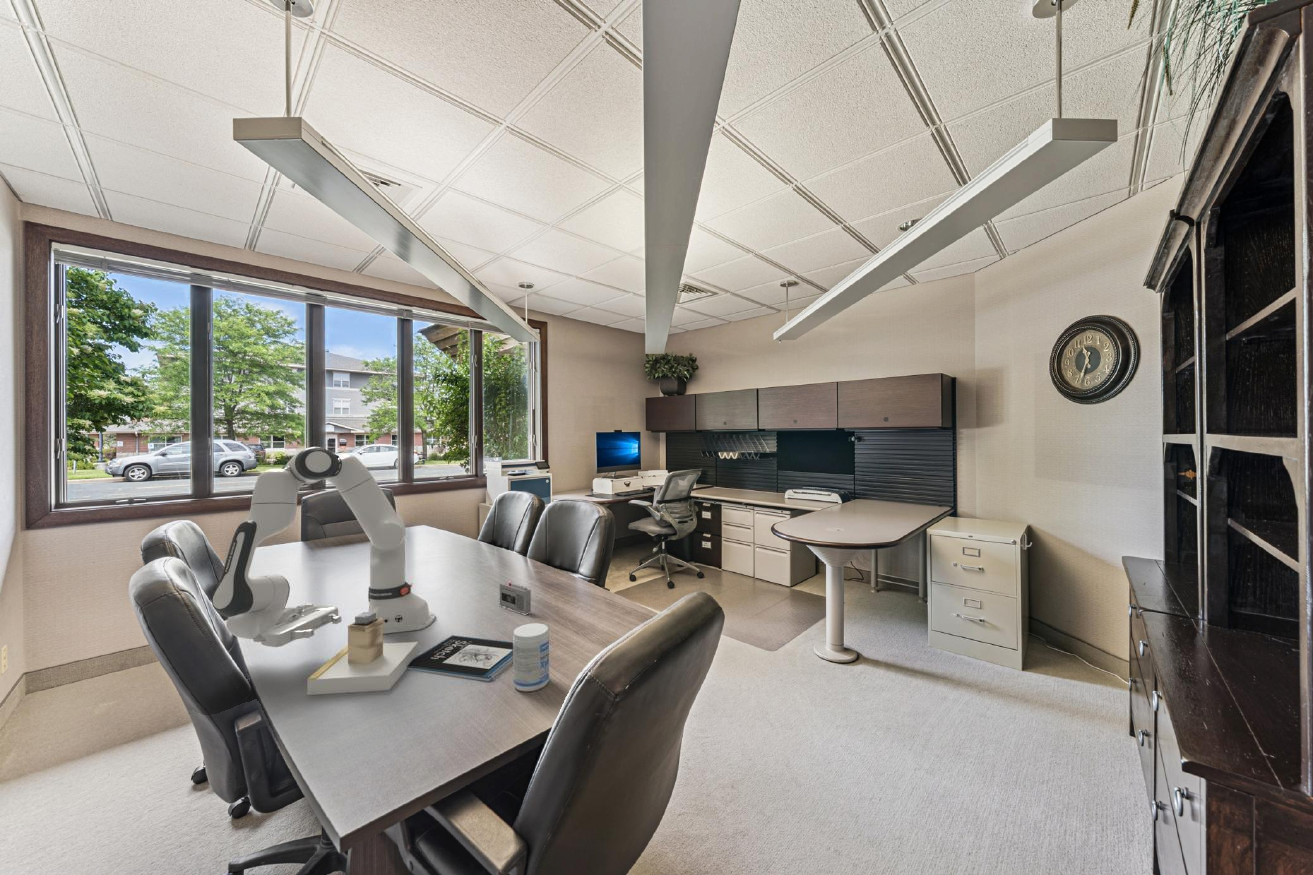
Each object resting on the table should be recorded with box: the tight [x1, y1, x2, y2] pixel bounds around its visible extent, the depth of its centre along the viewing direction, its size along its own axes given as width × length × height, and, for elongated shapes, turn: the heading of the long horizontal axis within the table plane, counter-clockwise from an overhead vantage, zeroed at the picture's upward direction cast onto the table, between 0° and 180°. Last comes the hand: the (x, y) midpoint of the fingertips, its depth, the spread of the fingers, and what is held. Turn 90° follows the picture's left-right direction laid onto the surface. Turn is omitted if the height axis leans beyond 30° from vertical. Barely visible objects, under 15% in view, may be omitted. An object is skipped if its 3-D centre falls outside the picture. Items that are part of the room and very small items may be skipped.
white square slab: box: [306, 641, 419, 696], centre depth 132 cm, size 20×20×4 cm
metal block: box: [354, 611, 376, 626], centre depth 132 cm, size 4×4×4 cm
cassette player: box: [499, 581, 532, 614], centre depth 180 cm, size 16×3×10 cm, turn 54°
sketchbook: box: [406, 634, 513, 683], centre depth 141 cm, size 22×30×2 cm
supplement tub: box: [512, 622, 550, 692], centre depth 126 cm, size 10×10×15 cm
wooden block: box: [347, 618, 384, 665], centre depth 132 cm, size 6×6×10 cm
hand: (326, 626), depth 134 cm, fingers open, 8 cm apart
